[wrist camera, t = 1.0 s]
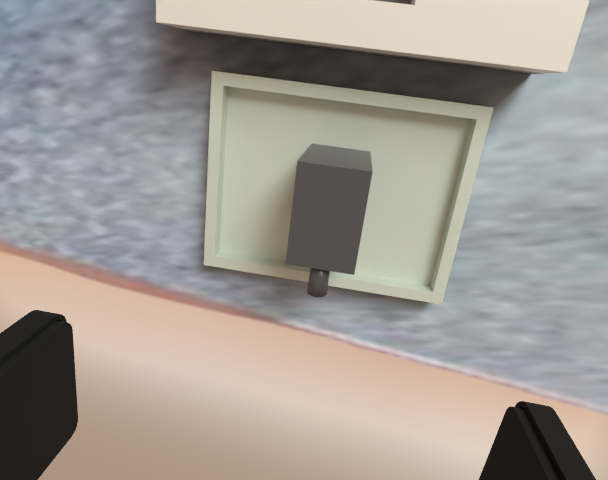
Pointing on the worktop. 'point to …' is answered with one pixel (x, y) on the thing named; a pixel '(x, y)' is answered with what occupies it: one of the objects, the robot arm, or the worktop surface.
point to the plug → (328, 212)
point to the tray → (383, 189)
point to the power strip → (401, 28)
